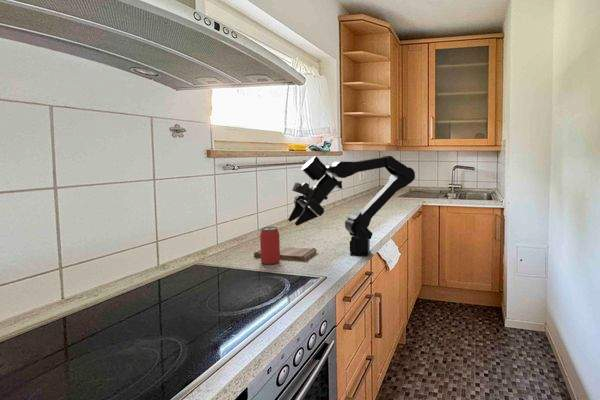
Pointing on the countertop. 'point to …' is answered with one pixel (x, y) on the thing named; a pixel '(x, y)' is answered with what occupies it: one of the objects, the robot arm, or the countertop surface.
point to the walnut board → (293, 253)
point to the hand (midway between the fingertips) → (292, 222)
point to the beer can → (270, 245)
